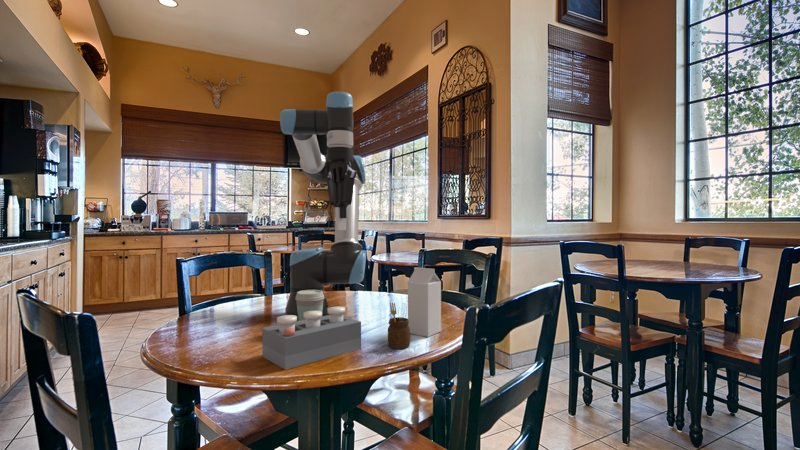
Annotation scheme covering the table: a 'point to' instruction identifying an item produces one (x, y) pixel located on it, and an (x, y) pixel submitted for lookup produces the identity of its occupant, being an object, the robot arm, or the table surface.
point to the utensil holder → (398, 330)
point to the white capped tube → (286, 322)
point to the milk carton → (424, 302)
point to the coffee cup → (309, 302)
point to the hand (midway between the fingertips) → (340, 229)
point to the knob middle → (312, 318)
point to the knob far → (336, 314)
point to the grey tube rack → (310, 342)
